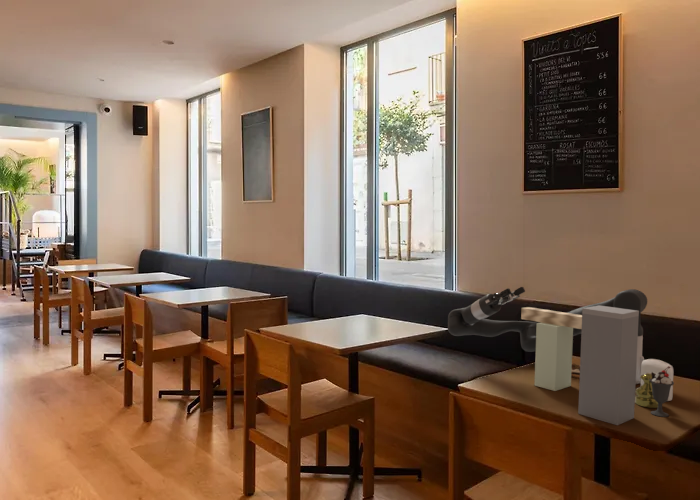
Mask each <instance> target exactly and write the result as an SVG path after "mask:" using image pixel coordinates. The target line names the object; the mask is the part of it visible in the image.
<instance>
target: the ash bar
mask: <svg viewBox="0 0 700 500" xmlns="http://www.w3.org/2000/svg"><path fill="white" fill-rule="evenodd" d="M520 313H521V317H520V319H521V320H524V321H529V322H536V323H541V322H542V323H548V324H554V325H560V326H565V327H571V328H577V329H582V315H578V314H571V313H568V312H562V311H558V310H557V311H556V310H552V309H551V310H550V309H543V308H537V307H531V306H526V307H521V312H520Z"/></svg>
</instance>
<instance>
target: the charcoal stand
mask: <svg viewBox="0 0 700 500" xmlns="http://www.w3.org/2000/svg"><path fill="white" fill-rule="evenodd" d="M638 319H639V311H637V310H629V309H622V308H615V307H607V306H600V305H599V306H593V307H587V308H582V332H581V334H580V336H581V337H580V339H581V340H580V357H579V359H580V360H579V366H580V378H579V383H578V386H579V388H578V391H579V392H578V406H577V407H578V411H577V414H579V415H580V416H584V417H588V418H592V419H595V420H597V421H598V420H599V421H601V422H605V423H608V424H612V425H615V426H619V425H621V424H623V423H626V422H629V421H631V420H633V419H635V404H636V403H635V396H636V393H635V390H636V385H637V384H636V363H637V341H638Z"/></svg>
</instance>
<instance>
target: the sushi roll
mask: <svg viewBox="0 0 700 500" xmlns="http://www.w3.org/2000/svg"><path fill="white" fill-rule="evenodd" d="M571 378H577V379H580V364H579V365H578V364H576V363H573V362H572V370H571Z"/></svg>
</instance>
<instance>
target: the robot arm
mask: <svg viewBox="0 0 700 500" xmlns="http://www.w3.org/2000/svg"><path fill="white" fill-rule="evenodd" d="M525 292H526V290H525V288H524V286H520V287H518V288H516V289H514V290H512V291H511V289H510V288H509V287H507V288H506V289H504V290H503V291H498V292H497V293H488V294H486V295H483V297H482V296H481V298H479V299H477V300H476V301H474V302H473V303H472V304H470V305H468V306H466V307H462V308H457V309H453V310H451V311H450V312H449V313H448V315H447V331H448V333H449V335H452V336H455V337H461V336H472V335H475V336H480V337H481V336H482V337H487V338H493V337H494V338H495V337H497V336H499V335H502V334H505V333H508V332H516V333H517V332H518V333H519V336H520V346H521V349H522V350H523V351H524V352H529V353H530V352H531V353H532V352H536V328H537V323H538V322H536V321H530V320H523V321H522V320H519V321H518V320H497V319H496V320H493V319H487V318H488V317H491V316H492V315H494V314H496V313H499V311H500V310H501V308H502V305H505V304H506V303H507V304H508V303H510V302H512V301H514V300H516V299H518V298H520V297H521V295H522V294H524V293H525ZM599 305H600V306H607V307H615V308H622V309H629V310H637V311H639V319H638V341H637V363H636V385H638V384H641V378H640V376H641V364H642V362H643V360H645V358H644V356H643V339H644V337H643V335H644V328H643V326H642V325H641V313H642V312H643V311H644V310H645V309H646V308H647V306H648V297H647V295H646V294H645V293H644V292H643V291H641V290H639V289H633V288H632V289H625V290H622V291H619V292H618V293H617V294H616V295H615V296H614V297H612V298H609V299H608V300H604V301H602V302H596V303H592V304H588V305H584V306H581V307H579V308H576V309H572V310H571V311H567V313H571V314H578V315H582V308H587V307H593V306H599ZM466 324H468V325H466ZM581 332H582V329H577V328H573V337H574V336H578V335H581Z"/></svg>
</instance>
